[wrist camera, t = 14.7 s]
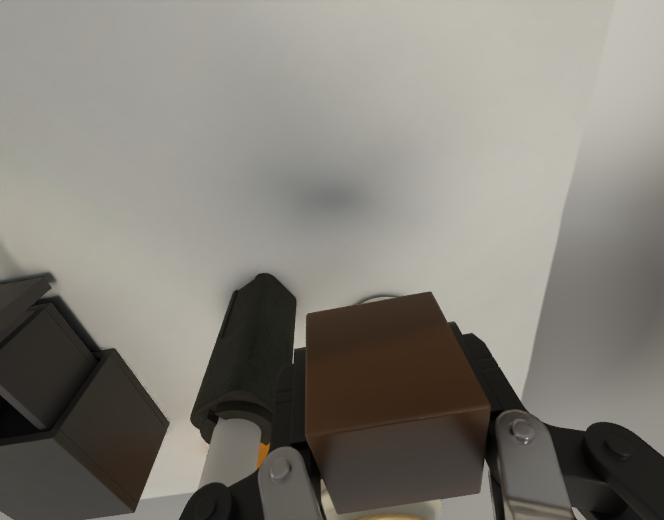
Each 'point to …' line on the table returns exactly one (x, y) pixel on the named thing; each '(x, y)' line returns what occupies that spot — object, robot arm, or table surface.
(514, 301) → the table surface
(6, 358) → the basket
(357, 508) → the block
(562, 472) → the robot arm
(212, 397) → the candle
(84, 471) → the fryer
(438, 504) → the jar
